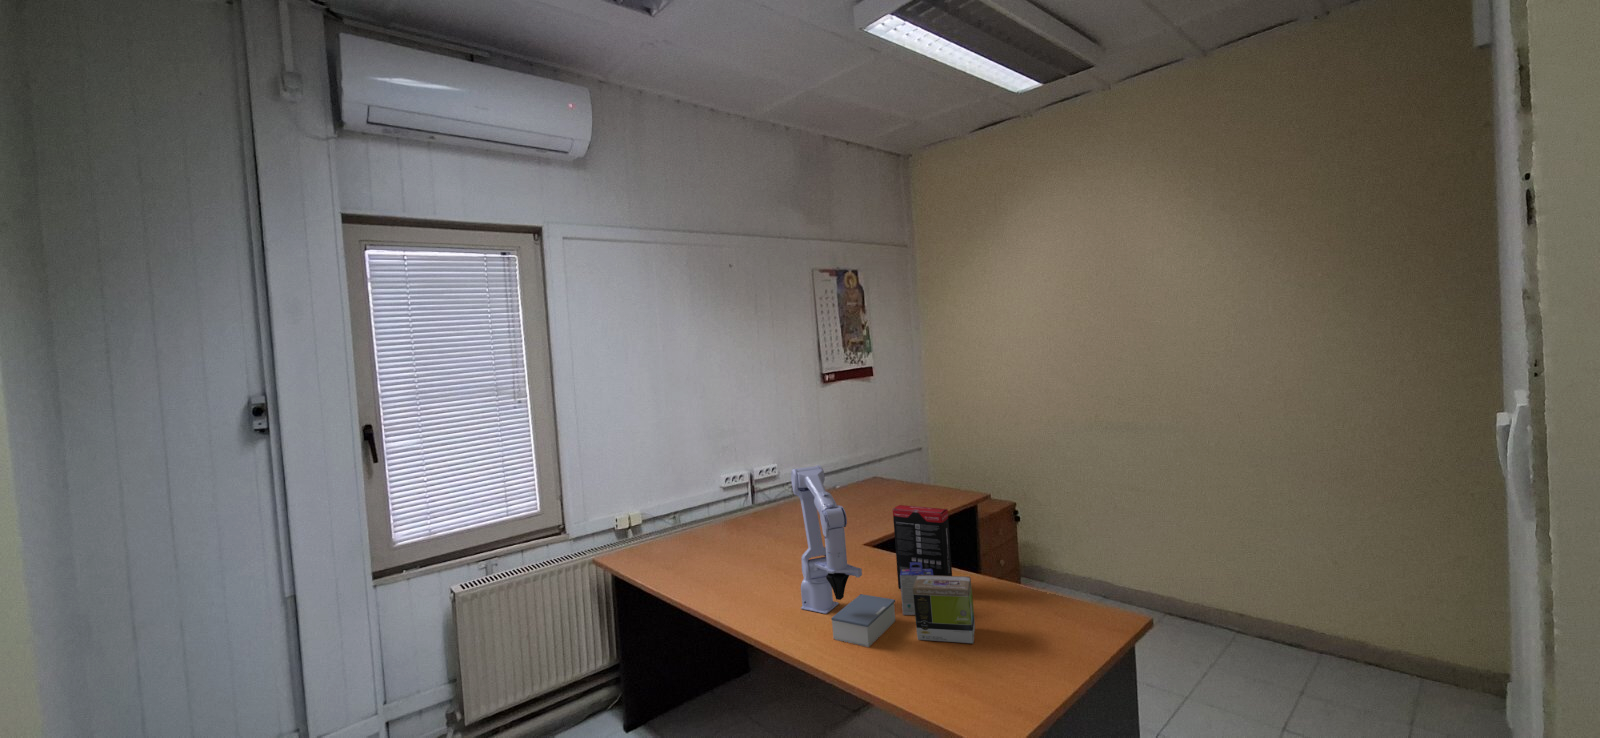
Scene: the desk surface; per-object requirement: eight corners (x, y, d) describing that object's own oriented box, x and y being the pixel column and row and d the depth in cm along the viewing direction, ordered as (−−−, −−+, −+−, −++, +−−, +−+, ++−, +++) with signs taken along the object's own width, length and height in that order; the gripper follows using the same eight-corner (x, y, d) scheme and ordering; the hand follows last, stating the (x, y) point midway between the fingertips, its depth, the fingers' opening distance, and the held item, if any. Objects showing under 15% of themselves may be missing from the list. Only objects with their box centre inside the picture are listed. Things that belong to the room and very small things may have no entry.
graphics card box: (955, 590, 193) (948, 506, 192) (948, 598, 187) (941, 512, 187) (905, 583, 202) (899, 503, 202) (897, 591, 197) (890, 508, 196)
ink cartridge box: (936, 607, 182) (932, 560, 182) (936, 615, 177) (932, 567, 176) (903, 607, 184) (899, 560, 184) (902, 615, 179) (898, 567, 178)
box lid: (831, 620, 167) (831, 616, 167) (860, 596, 182) (860, 593, 182) (867, 627, 161) (867, 623, 161) (895, 601, 175) (895, 598, 175)
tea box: (975, 627, 168) (971, 575, 167) (973, 645, 158) (969, 589, 158) (921, 623, 173) (917, 573, 172) (916, 640, 163) (912, 587, 163)
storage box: (833, 639, 168) (831, 619, 167) (862, 614, 182) (860, 596, 181) (868, 647, 161) (866, 627, 161) (895, 620, 176) (893, 602, 175)
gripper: (806, 552, 170) (810, 599, 170) (851, 558, 162) (855, 608, 162) (819, 544, 176) (823, 590, 176) (863, 550, 168) (867, 598, 168)
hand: (839, 598), depth 170 cm, fingers closed
